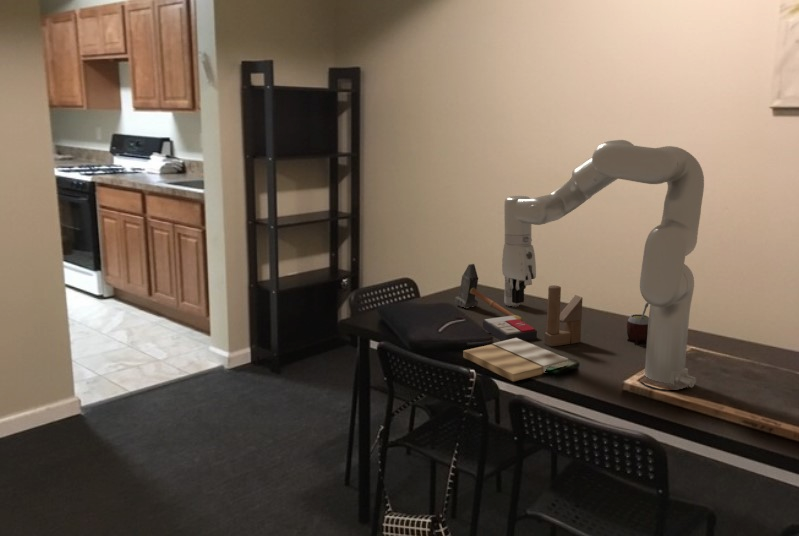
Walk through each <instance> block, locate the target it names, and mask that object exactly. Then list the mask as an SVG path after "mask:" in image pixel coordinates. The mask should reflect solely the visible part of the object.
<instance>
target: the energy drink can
mask: <svg viewBox="0 0 799 536" xmlns="http://www.w3.org/2000/svg"><path fill="white" fill-rule="evenodd" d="M515 280H516V279H515ZM520 283H521V282H520ZM503 297H504V301H503V302H504V304H505V306H506V305H509V306H518V307H520V306H519V305H521V304H522V303H517V304H516V303H513V302H512V289H511V287H510V283H509V281H507V280H505V279H504V296H503Z"/></svg>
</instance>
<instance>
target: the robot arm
mask: <svg viewBox="0 0 799 536" xmlns="http://www.w3.org/2000/svg"><path fill="white" fill-rule="evenodd" d="M617 180H624V181H629V182H634V183H640V184H649V185H661V184H664V183H667V191H666V195H665V197H664V202H663V210H662V217H661V222H660V224H658V225H657V226H655V227H654V228H653V229H651V231H650V232H649V233H648V235H647V237H646V241H645V243H644V244H645V245H644V248H643V249H644V250H643V255H642V262H641V263H642V264H641V270H640V271H641V272H640V279H639V290H640V294H641V297H642V299H643V300H644V301H645V303H649V304H648V305H649V310H648V311H649V312H648V317H649V321H648V334H647V344H646V349H645V351H646V352H645V361H644V362H645V364H644V365H645V366H644V370H642V371H640V372H639V373H638V375H639V374H640V373H642V372H643V371H645V376H646V377H648V378H649V379H652V380H655V381H659V382H664V383H671V384H673V385H674V384H684V385H686V386H689V387H688V388H693V387H694V386H695V384H696V382H697V377H696V376H692V375H690V374H689V368H687V367H686V360H687V357H686V356H687V347H688V345H687V344H688V335H689V324H690V314H691V313H690V311H691V307H692V300H693V295H694V290H695V289H694V288H695V278H694V274H693V272H692V269H690V267H689V266H688V265H687V264H686V263H685V261H686V257H687V256H689V255H690V254H691V253H692V252H693V251H694V249H695V248H696V246H697V243H698V234H699V226H700V220H701V215H702V214H701V212H702V204H703V197H704V196H703V195H704V190H705V177H704V171H703V169H702V167H701V164H700V162H699V161H698V160H697V159H696V158H695V157H694V156H693V154H692V153H690V152H688V151H687V150H685V149H683V148H681V147H679V146H673V145H669V146H668V145H666V146H660V147H648V146H642V145H634V144H633V143H632V142H630V141H629V140H624V139H615V140H608V141H604V142H602V143H601V144H600V145H598V146H597V147H596V148H595V150H594V152H593V154H592V156H591V157H590V158H588V159H586V160H585V161H584V162H582V163H581V164H579V165H578V166H576V167H575V168H574V169H573V170H572V172H571V178H569V179H568V181H567V182H565V183H564V184H563V185H561V186H560V187H558V188H557V189H556V190H554V191H552V192H551V193H550V194H546V195H541V196H537V197H529V196H526V195H512V196H507V197H506V198H505V199H504V207H503V209H504V211H503V212H504V244H503V249H502V256H501V257H502V259H501V260H502V261H501V263H502V264H501V265H502V266H501V271H502V275H503V276H504V281H505V280H507V281H509V283H510V287H511V289H512V302H513V303H516V304H517V303H521V304H522V303H524V302H525V290H526V288H527V286H530V285H531V286H532V285H533V280H534V279H536V277H537V266H536V265H537V264H536V263H537V262H536V255H535V249H534V245H533V244H532V242H533V239H532V225H536V226H537V225H538V226H541V225H545V224H548V223H552V222H555V221H559V220H560V219H562V218H563V217H565V216H566V215H568V214H570V213H571V212H573V211H575V210H576V209H577V208H579V207H581V205H583V204H584V203H585V202H587V201H588V200H590V199H591V198H592V197H594V195H596V194H597V193H599V192H601V191H602V190H603V189H604V188H606V187H607V186H610V185H611V184H612V183H613V182H616V181H617ZM515 279H516V280H515ZM520 282H521V283H520Z"/></svg>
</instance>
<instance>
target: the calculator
mask: <svg viewBox="0 0 799 536" xmlns="http://www.w3.org/2000/svg"><path fill="white" fill-rule="evenodd" d="M483 328H484V329H485V330H487V331H488V332H489V333H488V334H490V333H491V334H492V335H491V334H490V335H491V336H493V337H494V336H495V337H494V338H496V339H498V340H499V339H500V340H499V341H500V342H501V341H505V340H509V339H513V338H518V339H521V340H523V341H531V340H537V337H538V335H537V334H538V331H537V330H536V329H535V328H534V327H532V326H531V325H529V324H527V323H526V322H524V321H523V322H522V321H521V320H519V319H516V318H515V317H513V316H506V315H504V316H500V317H492V318H485V319H483V320H482V329H483Z"/></svg>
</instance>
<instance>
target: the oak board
mask: <svg viewBox="0 0 799 536" xmlns="http://www.w3.org/2000/svg"><path fill="white" fill-rule="evenodd" d="M462 352H463V353H462V357H463V358H464V359H465V360H468V361H470V362H472V363H475V364H476V365H478V366H481V367H483V368H484V369H487V370H488V371H491V372H492V373H494V374H497V375H499V376H501V377H503V378H505V379H507V380H510V381H511V382H517V381H520V380H525V379H529V378H532V377H536V376H540V375H543V372H542V367H541V366H539V365H537V364H535V363H532V362H530V361H528V360H525V359H523V358H521V357H519V356H516V355H514V354H512V353H509V352H507V351H505V350H503V349H500V348H498V347H496V346H493V345H492V344H487V345H484V346H483V345H482V346H478V347H474V348H470V349H469V348H468V349H465V350H463V351H462Z"/></svg>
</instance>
